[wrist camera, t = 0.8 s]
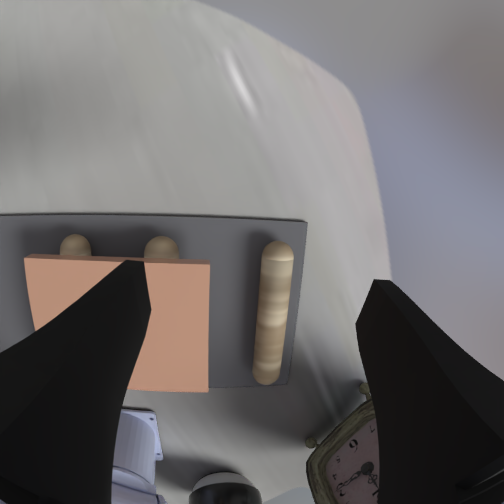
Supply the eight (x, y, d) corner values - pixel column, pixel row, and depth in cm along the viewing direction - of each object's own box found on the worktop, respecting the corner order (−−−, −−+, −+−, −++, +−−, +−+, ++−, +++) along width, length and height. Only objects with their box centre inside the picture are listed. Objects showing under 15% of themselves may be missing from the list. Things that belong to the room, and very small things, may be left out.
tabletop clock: (363, 368, 34) (487, 512, 10) (399, 388, 36) (504, 502, 12) (290, 443, 35) (356, 595, 11) (333, 455, 38) (400, 578, 14)
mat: (286, 382, 32) (287, 384, 32) (-21, 356, 25) (-22, 357, 25) (306, 222, 28) (307, 222, 28) (-47, 217, 21) (-49, 218, 21)
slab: (207, 382, 27) (208, 392, 25) (53, 370, 24) (47, 378, 22) (209, 259, 24) (210, 264, 23) (31, 253, 21) (23, 257, 20)
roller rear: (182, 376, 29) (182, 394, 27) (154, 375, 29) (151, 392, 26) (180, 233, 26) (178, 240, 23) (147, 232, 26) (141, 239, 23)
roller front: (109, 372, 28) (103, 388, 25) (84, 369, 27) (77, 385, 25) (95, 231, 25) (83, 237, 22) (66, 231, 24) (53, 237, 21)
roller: (274, 374, 31) (281, 389, 29) (249, 375, 31) (254, 391, 28) (289, 238, 28) (299, 245, 25) (260, 237, 28) (266, 243, 25)
